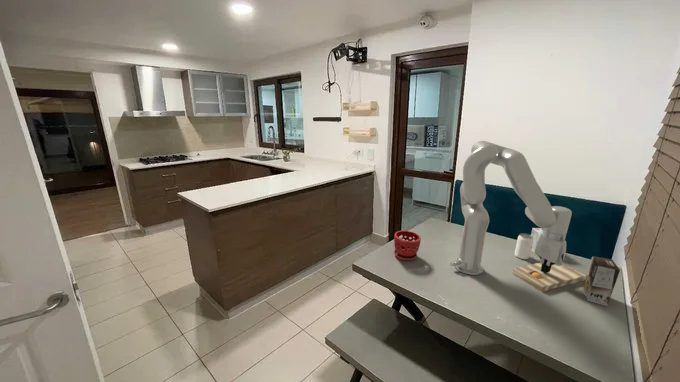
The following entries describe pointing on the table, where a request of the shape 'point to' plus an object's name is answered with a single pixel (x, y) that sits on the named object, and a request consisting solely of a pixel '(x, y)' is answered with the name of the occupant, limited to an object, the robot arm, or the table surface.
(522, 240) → the can
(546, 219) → the robot arm
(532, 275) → the ball
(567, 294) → the table surface
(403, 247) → the plant pot
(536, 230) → the light bulb box
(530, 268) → the board
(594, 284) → the coffee box
